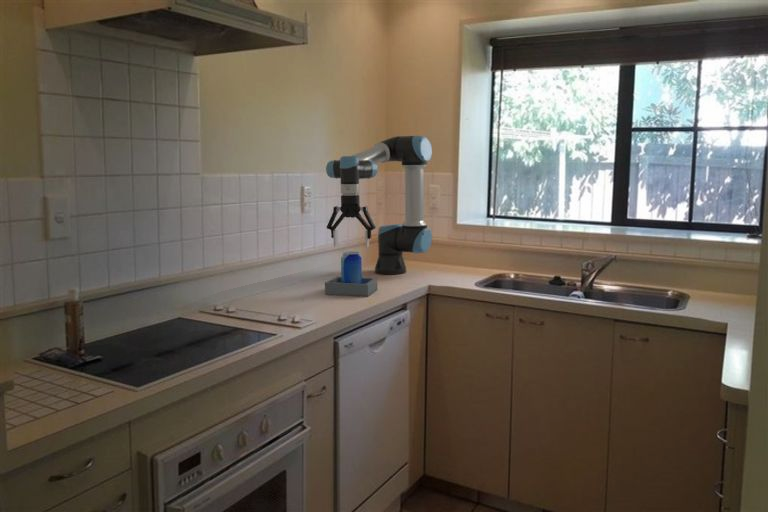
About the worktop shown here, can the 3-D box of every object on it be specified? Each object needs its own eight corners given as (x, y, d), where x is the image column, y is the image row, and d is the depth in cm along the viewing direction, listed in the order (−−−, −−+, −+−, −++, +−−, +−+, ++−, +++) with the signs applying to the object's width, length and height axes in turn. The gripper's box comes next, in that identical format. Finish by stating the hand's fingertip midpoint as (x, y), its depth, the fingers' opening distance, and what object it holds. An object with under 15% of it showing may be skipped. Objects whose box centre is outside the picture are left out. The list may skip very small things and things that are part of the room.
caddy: (336, 288, 281) (336, 276, 281) (377, 289, 277) (377, 278, 276) (325, 294, 268) (324, 282, 267) (367, 296, 263) (367, 284, 263)
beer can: (345, 293, 267) (345, 254, 265) (338, 289, 274) (337, 251, 272) (365, 291, 270) (364, 253, 268) (357, 288, 278) (356, 250, 276)
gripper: (317, 195, 266) (319, 247, 269) (377, 195, 260) (378, 248, 263) (324, 193, 273) (325, 244, 276) (382, 193, 267) (383, 245, 270)
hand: (351, 246), depth 270 cm, fingers open, 13 cm apart
